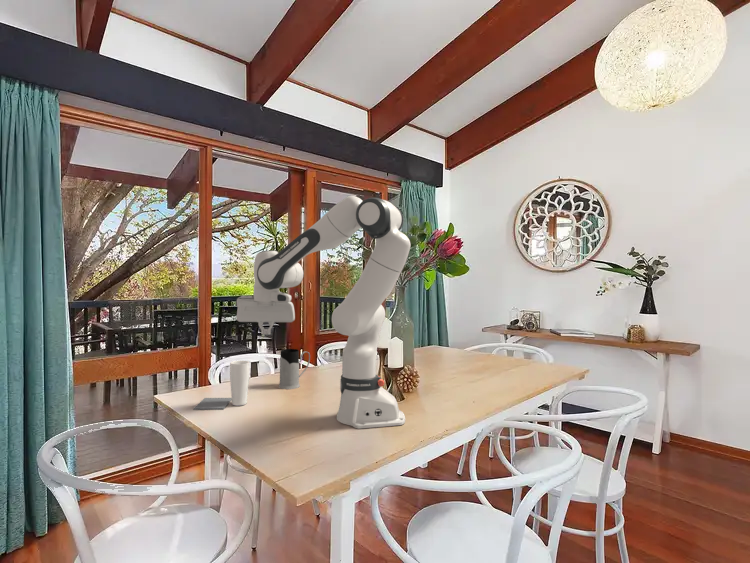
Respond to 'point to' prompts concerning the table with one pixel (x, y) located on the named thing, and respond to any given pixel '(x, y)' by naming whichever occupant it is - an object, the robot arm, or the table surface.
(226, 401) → the mat
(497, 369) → the table surface
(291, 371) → the grey mug
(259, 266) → the robot arm
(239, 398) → the drinking glass
